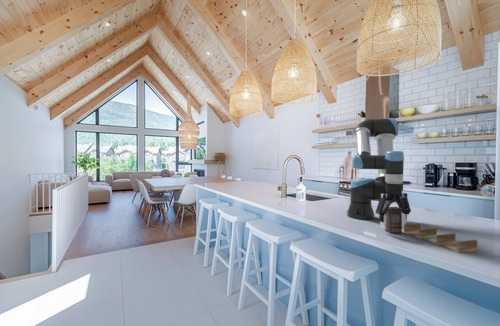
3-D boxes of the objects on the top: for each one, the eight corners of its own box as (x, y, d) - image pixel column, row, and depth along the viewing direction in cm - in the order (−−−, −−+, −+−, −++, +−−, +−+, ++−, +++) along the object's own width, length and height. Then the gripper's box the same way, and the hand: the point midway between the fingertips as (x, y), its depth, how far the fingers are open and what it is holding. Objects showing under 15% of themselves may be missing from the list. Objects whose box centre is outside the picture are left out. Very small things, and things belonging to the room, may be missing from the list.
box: (395, 230, 116) (395, 206, 115) (402, 233, 111) (402, 208, 111) (384, 230, 115) (384, 206, 115) (390, 233, 110) (390, 208, 110)
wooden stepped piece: (403, 232, 112) (404, 224, 112) (418, 231, 114) (419, 223, 114) (459, 252, 89) (459, 242, 89) (477, 250, 91) (477, 240, 91)
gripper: (379, 184, 106) (378, 231, 107) (420, 183, 111) (419, 228, 112) (367, 182, 113) (366, 227, 114) (406, 181, 119) (405, 223, 119)
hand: (393, 227), depth 113 cm, fingers open, 11 cm apart
